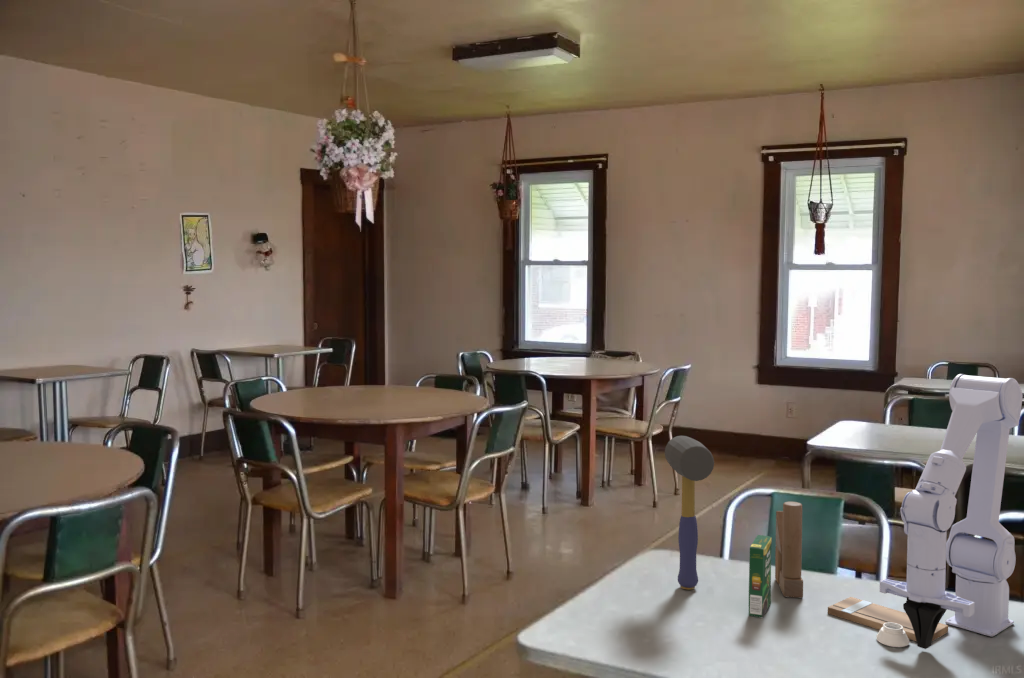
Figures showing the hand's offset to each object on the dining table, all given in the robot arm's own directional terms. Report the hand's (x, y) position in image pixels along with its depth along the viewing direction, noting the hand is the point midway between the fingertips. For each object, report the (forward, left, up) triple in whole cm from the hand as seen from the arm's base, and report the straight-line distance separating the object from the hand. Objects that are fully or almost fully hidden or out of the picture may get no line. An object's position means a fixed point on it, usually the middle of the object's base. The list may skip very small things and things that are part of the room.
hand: (924, 646), depth 142 cm
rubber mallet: (+6, -44, -1) cm, 44 cm away
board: (-7, -10, -1) cm, 12 cm away
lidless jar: (0, -5, -1) cm, 5 cm away
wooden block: (-9, -31, -1) cm, 32 cm away
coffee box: (+5, -28, -1) cm, 28 cm away
